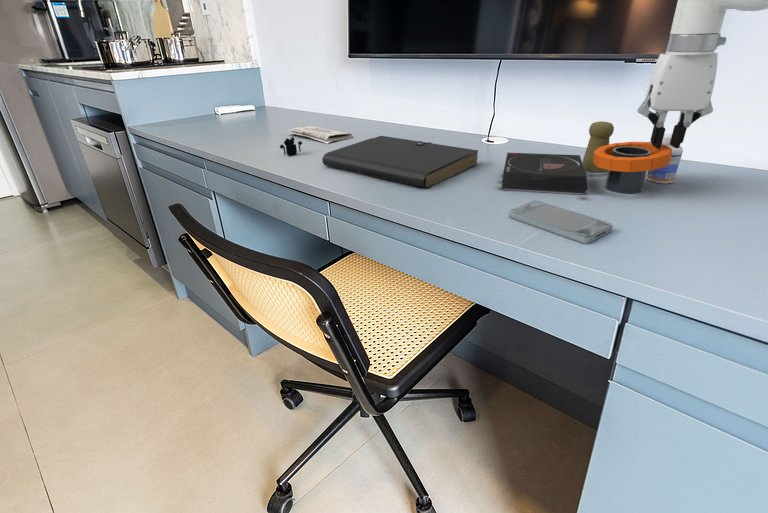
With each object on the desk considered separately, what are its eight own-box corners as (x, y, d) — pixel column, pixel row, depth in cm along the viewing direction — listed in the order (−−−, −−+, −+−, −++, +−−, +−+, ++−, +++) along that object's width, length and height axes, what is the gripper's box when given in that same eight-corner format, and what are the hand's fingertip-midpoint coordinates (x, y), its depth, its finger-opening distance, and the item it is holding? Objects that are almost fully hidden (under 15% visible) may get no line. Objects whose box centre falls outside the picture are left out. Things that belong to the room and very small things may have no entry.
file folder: (479, 148, 110) (423, 174, 95) (478, 164, 112) (423, 192, 97) (381, 134, 130) (321, 153, 114) (382, 147, 132) (323, 168, 116)
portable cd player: (586, 195, 90) (590, 176, 88) (501, 190, 95) (503, 172, 93) (579, 171, 104) (582, 155, 102) (505, 168, 109) (507, 152, 107)
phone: (586, 245, 70) (588, 237, 70) (506, 216, 82) (507, 210, 81) (612, 230, 74) (614, 224, 74) (533, 205, 86) (534, 199, 85)
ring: (655, 150, 94) (657, 139, 93) (680, 168, 83) (682, 155, 82) (588, 156, 98) (588, 145, 97) (602, 174, 86) (603, 162, 85)
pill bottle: (645, 175, 100) (656, 132, 95) (673, 177, 97) (685, 133, 93) (646, 182, 95) (657, 137, 91) (675, 185, 93) (688, 139, 89)
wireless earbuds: (282, 157, 127) (279, 140, 124) (278, 156, 128) (276, 138, 126) (304, 153, 130) (301, 136, 128) (300, 151, 132) (298, 135, 130)
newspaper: (286, 135, 154) (285, 127, 153) (315, 132, 162) (314, 125, 160) (324, 144, 139) (323, 136, 138) (353, 140, 146) (353, 133, 145)
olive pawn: (594, 173, 102) (603, 125, 97) (575, 167, 107) (582, 121, 102) (613, 169, 104) (623, 122, 99) (593, 163, 109) (601, 118, 104)
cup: (636, 183, 95) (645, 146, 91) (646, 194, 89) (656, 155, 85) (601, 182, 97) (609, 146, 93) (609, 193, 91) (617, 155, 87)
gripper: (731, 42, 81) (702, 142, 89) (636, 46, 84) (616, 142, 92) (753, 44, 74) (719, 151, 83) (649, 48, 77) (626, 151, 86)
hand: (665, 145), depth 87 cm, fingers closed
